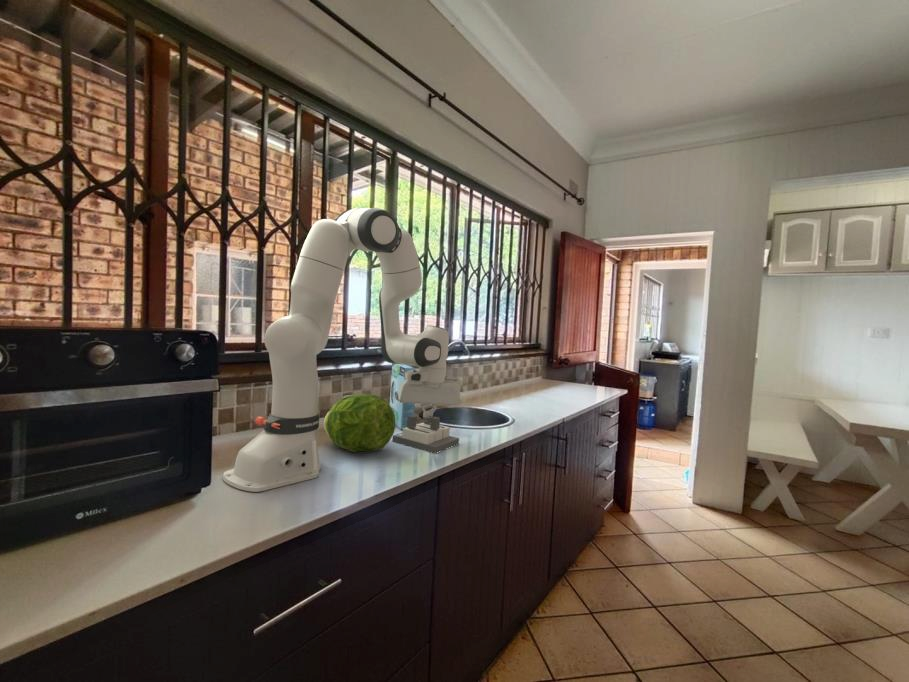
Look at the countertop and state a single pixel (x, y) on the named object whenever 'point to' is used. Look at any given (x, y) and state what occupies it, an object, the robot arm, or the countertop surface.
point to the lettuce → (360, 423)
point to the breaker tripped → (435, 423)
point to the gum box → (397, 406)
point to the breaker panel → (427, 447)
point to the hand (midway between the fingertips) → (427, 417)
